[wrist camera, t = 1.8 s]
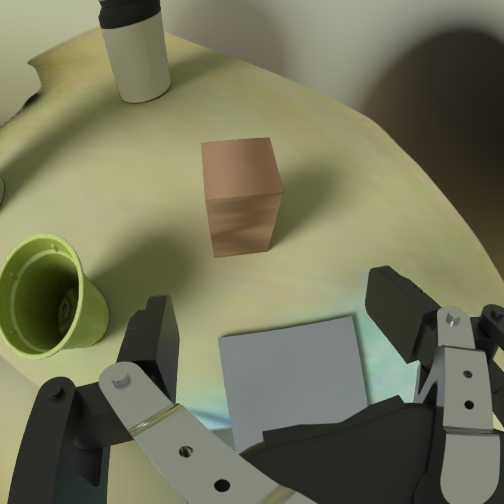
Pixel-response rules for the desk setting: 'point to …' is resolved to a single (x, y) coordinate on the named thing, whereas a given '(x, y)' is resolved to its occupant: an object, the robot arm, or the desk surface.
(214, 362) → the desk surface
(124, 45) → the travel mug
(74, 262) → the plant pot
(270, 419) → the slate coaster
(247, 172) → the walnut block
